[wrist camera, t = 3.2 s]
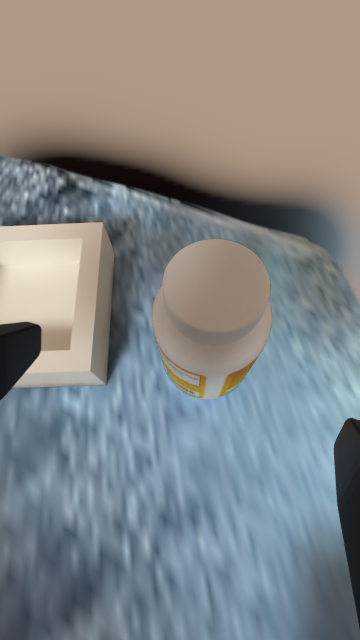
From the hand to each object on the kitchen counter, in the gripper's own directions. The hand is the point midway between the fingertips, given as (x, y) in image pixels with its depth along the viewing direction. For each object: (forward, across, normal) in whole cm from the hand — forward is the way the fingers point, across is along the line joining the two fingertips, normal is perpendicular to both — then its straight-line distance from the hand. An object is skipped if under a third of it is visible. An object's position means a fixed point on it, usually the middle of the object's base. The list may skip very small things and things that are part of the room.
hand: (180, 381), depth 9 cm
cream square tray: (+10, +12, +5) cm, 16 cm away
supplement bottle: (+11, 0, +5) cm, 12 cm away
